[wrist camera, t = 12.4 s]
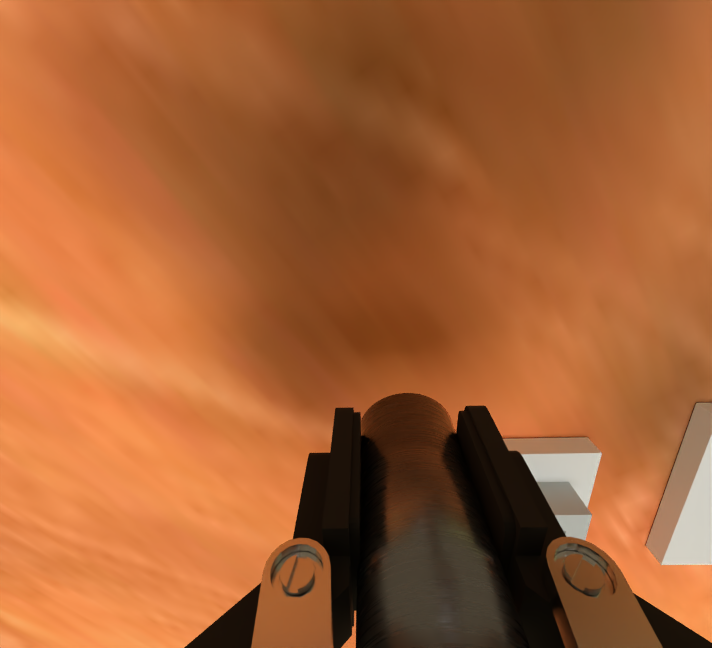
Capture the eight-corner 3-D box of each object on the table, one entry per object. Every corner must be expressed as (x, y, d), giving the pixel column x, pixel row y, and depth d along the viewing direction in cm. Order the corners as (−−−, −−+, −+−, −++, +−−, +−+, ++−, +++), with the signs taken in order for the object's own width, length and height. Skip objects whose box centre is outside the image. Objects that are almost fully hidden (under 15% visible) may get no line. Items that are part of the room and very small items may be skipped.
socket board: (415, 440, 19) (425, 486, 16) (587, 437, 19) (630, 484, 16) (411, 570, 23) (418, 628, 20) (555, 569, 23) (585, 627, 20)
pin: (357, 393, 11) (350, 707, 5) (456, 392, 11) (586, 709, 5) (360, 467, 12) (356, 797, 6) (448, 466, 12) (544, 801, 6)
